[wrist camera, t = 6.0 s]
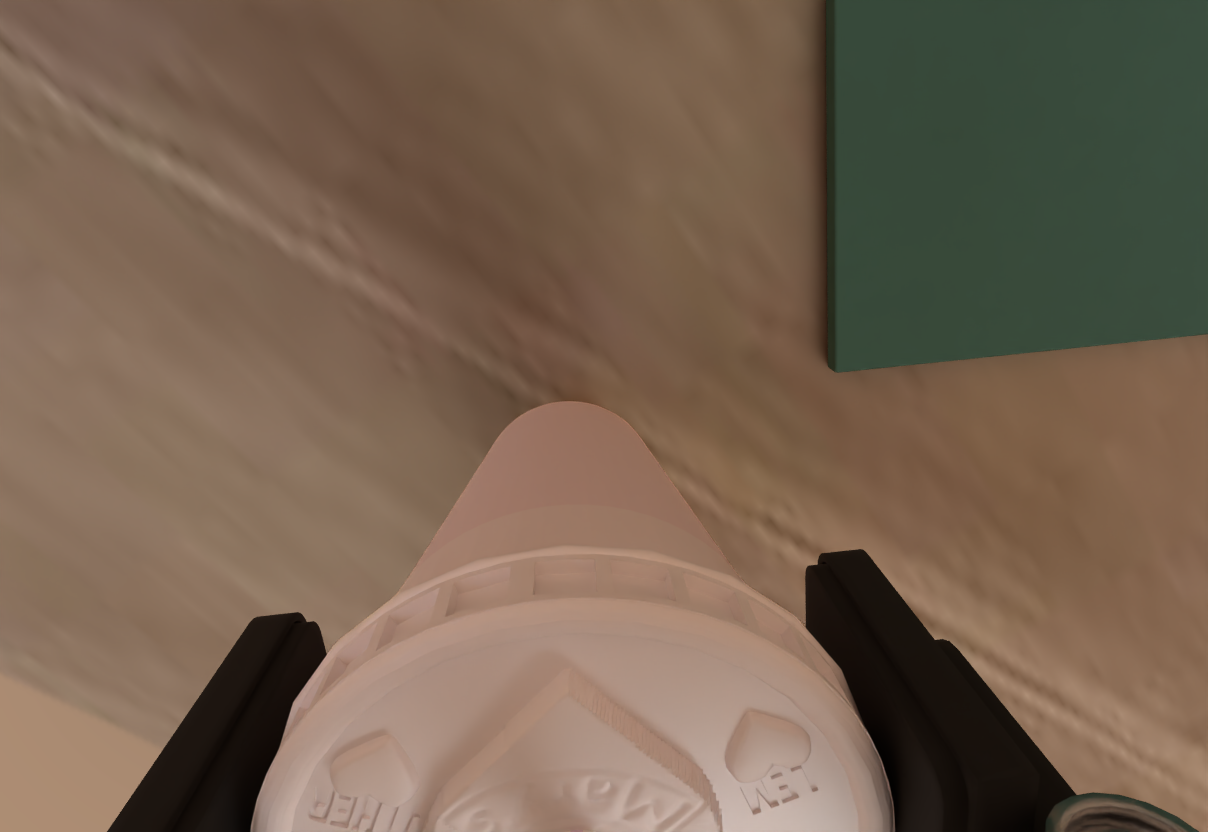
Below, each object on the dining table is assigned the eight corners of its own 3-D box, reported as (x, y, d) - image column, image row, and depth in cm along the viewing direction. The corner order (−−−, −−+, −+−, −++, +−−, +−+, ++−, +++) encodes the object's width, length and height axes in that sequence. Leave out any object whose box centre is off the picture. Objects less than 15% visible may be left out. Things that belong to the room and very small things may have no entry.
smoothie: (716, 332, 15) (1643, 1331, 2) (711, 600, 18) (1177, 1950, 4) (405, 344, 15) (-654, 1574, 2) (436, 615, 17) (27, 2103, 4)
